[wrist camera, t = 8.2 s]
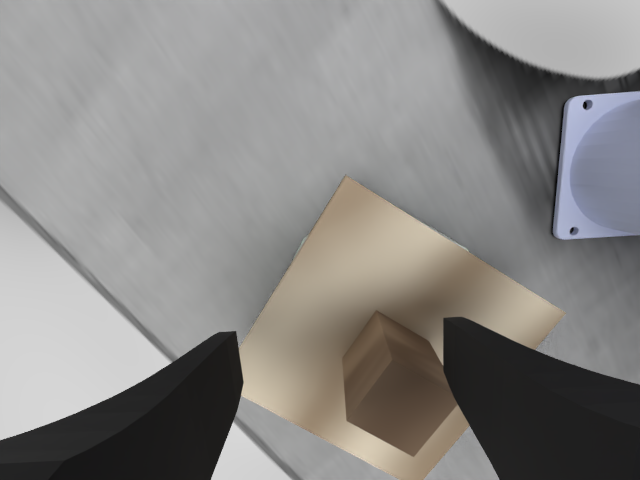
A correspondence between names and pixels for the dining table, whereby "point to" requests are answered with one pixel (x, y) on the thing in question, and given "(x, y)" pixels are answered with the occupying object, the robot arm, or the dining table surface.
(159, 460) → the robot arm
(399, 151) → the dining table surface
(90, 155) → the dining table surface
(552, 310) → the birch lid
